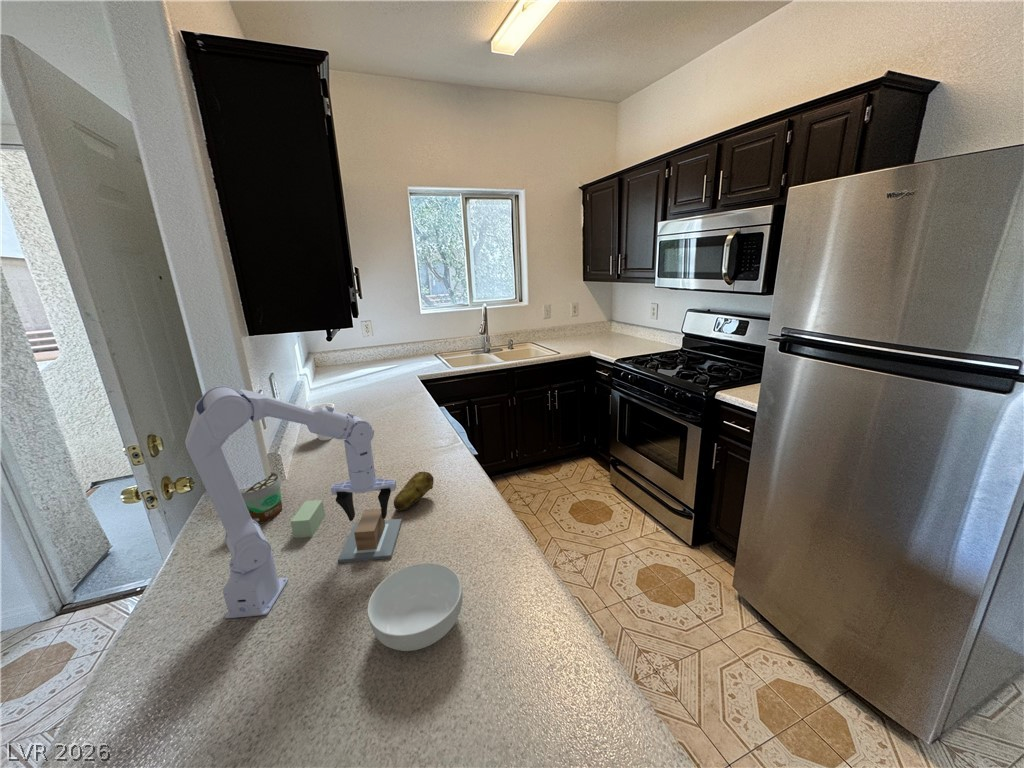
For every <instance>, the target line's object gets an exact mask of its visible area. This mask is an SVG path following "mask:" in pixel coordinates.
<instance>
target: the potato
mask: <svg viewBox="0 0 1024 768" xmlns="http://www.w3.org/2000/svg"><path fill="white" fill-rule="evenodd" d="M434 479H435V478H434V476H433V475H432V474H431V473H430V472H428V471H418V472H416V473H414V475H412V477H411V478H410V479H409V480H408V481H407V482H406V483H405V484H404V485H403V486H404V487H402V489H401V490H400V491H399V492H398V493H397V494H396V496H395V498H394V499H393V507H394V509H395V510H397V511H400V512H401V511H405V510H407V509H409V508H410V506H412V505H414V504H416V503H417V502H418V501H420V500H421V499H422V498H423V497H424V496H425V495H426V494H427V493H428V492H429V491H430V490H432V489H433V488H434V483H435V480H434Z"/></svg>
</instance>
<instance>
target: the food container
mask: <svg viewBox="0 0 1024 768" xmlns="http://www.w3.org/2000/svg"><path fill="white" fill-rule="evenodd" d="M282 484H283V480H282V479H281V476H280V475H279V474H278V472H277V473H276V472H275V471H270V475H269V476H267V477H265V479H263V480H260V481H258V482H256V483H254V484H253V485H251V487H250V488H248V489H247V490H246V491H244V492H240V493H241V495H242V497H243V500H244V502H245V504H246V506H247V509H248V511H249V513H250V516H251V518H252V520H254V521H255V522H257V523H258V524H261V523H265V522H269V521H271V520H273V519H275V518H276V517H278V516H279V515H281V513H282V511H283V503H282V501H283V500H282V495H281V486H282ZM280 512H281V513H280ZM277 515H278V516H277ZM274 517H275V518H274Z"/></svg>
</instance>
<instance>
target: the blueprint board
mask: <svg viewBox="0 0 1024 768" xmlns="http://www.w3.org/2000/svg"><path fill="white" fill-rule="evenodd" d="M384 520H385V528H384V531H383V533H382V536H381V539H380V542H379V544H378V547H377V549H372V550H359V551H357V546H356V540H355V534H354V532H355V530H356V528H357V526H358V524H359V521H357V522H354V524H353V526H352V529H351V531H350V533H349V534H348V537H347V539H346V541H345V543H344V546H343V548H342V550H341V552H340V554H339V556H338V558H337V562H338V563H351V562H363V561H373V560H375V561H376V560H386V559H392V557H393V553H394V551H395V547H396V543H397V541H398V536H399V533H400V530H401V527H402V524H403V518H397V519H396V518H395V519H384Z"/></svg>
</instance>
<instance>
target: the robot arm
mask: <svg viewBox="0 0 1024 768" xmlns="http://www.w3.org/2000/svg"><path fill="white" fill-rule="evenodd" d="M238 390H239V391H240V392H241V393H240V392H239V391H238ZM238 390H237V389H236V388H234V387H231V386H228V385H217V386H214V387H211V388H210V389H208V390H207V391H206V392H205V393H204V394H203V395H202V396H201V397H200V399H199V400H198V401H197V402H196V403H195V406H194V410H193V416H192V419H191V422H190V424H189V427H188V430H187V434H186V437H185V440H184V443H185V446H186V450H187V452H188V454H189V456H190V458H191V460H192V462H193V464H194V466H195V467H194V468H195V469H196V471H197V473H198V475H199V478H200V479H201V481H202V484H203V486H204V488H205V490H206V492H207V495H208V496H209V499H210V501H211V503H212V505H213V507H214V509H215V512H216V513H217V515H218V518H219V520H220V522H221V524H222V527H223V528H224V531H225V536H224V542H225V546H226V547H227V549H228V551H229V553H230V556H231V558H230V562H229V565H228V566H229V572H230V574H229V577H228V580H227V582H226V584H225V586H224V587H223V591H222V593H223V597H224V601H225V605H226V607H227V612H226V614H225V615H224V618H225V619H234V618H246V617H256V616H266V615H268V614H269V613H270V612H271V609H272V608H273V606H274V604H275V602H276V601H277V600H278V598H279V596H280V594H281V593H282V591H283V590H284V588H285V586H286V584H287V583H288V582H289V577H279V575H278V572H277V567H276V563H275V558H274V555H273V550H272V545H271V543H270V542H269V541H268V540H267V538H266V536H265V534H264V532H263V531H262V527H261V525H260V523H257V522H255V521H254V520H252V518H251V516H250V513H249V511H248V509H247V506H246V504H245V502H244V500H243V497H242V495H241V493H242V492H241V491H240V488H239V486H238V484H237V482H236V480H235V477H234V475H233V472H232V470H231V468H230V465H229V464H228V460H227V458H226V456H225V454H224V452H223V449H222V447H223V445H224V444H225V442H226V441H227V440H228V439H229V437H230V436H231V435H233V434H234V433H235V432H237V431H238V430H240V429H242V427H244V426H245V425H246V424H247V423H248V422H249V420H251V422H252V423H256V422H259V421H261V420H262V419H265V418H267V417H270V418H274V419H279V420H283V421H288V422H292V423H295V424H296V423H297V424H299V425H305V426H306V427H307V429H308V431H309V432H310V433H312V434H314V435H315V434H316V435H317V434H319V435H323V436H327V437H331V438H332V439H335V440H339V441H340V440H343V443H344V451H345V458H346V464H347V465H346V466H347V470H348V471H347V472H348V478H349V480H348V481H347V480H346V481H344V482H343V481H342V482H336V483H333V484H332V485H331V487H330V492H331V496H336V498H335V502H336V503H337V504H338V505H339V506H340V508H341V509H343V511H344V512H345V514H346V516H347V518H348V520H349V522H352V521H353V520H354V519H355V517H356V512H355V506H354V499H353V497H354V495H353V494H364V493H369V492H373V491H374V492H376V491H379V494H378V495H377V499H378V502H379V505H380V509H381V515H382V519H384V520H386V519H387V515H388V507H389V506H388V504H389V500H390V496H391V494H392V492H393V491H396V488H397V480H396V479H388V478H387V479H386V478H379V477H376V475H377V474H376V468H375V462H374V460H375V459H374V454H373V447H372V440H373V439H374V436H375V430H374V429H373V428H372V425H371V424H370V423H369V422H368V421H366V420H364V419H362V418H361V417H359V416H357V415H355V414H354V413H351V412H347V414H346V413H344V412H340V411H337V410H335V411H334V408H333V407H331V406H328V405H327V406H326V408H324V407H317V408H315V409H312V410H309V408H306V407H303V406H300V405H297V404H294V403H291V402H287V401H284V400H281V399H280V398H279V399H278V398H275V397H273V396H269V395H267V394H264V393H259V392H255V391H251V390H249V389H241V388H239V389H238Z"/></svg>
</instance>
